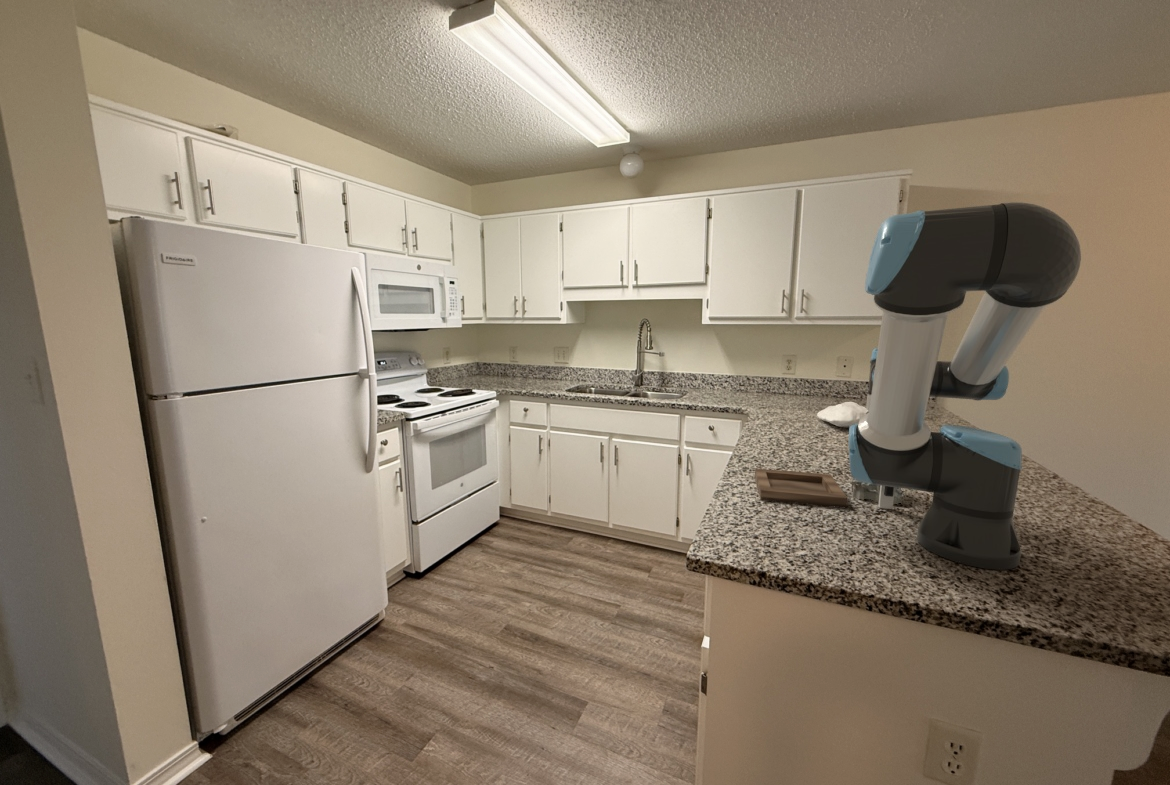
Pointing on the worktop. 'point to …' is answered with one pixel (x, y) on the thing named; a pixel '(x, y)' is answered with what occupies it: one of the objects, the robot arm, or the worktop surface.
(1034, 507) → the worktop surface
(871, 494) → the egg carton
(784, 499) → the pocket board
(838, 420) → the crumpled cloth
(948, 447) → the robot arm
